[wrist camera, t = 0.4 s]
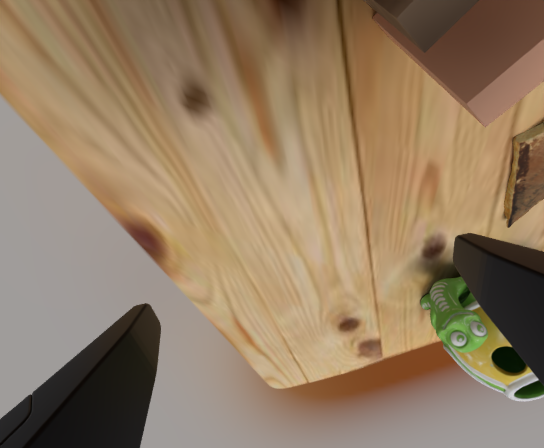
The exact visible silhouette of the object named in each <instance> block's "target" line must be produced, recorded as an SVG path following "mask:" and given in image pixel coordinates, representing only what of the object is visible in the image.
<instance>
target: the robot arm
mask: <svg viewBox="0 0 544 448" xmlns="http://www.w3.org/2000/svg"><path fill="white" fill-rule="evenodd" d="M453 261H454V265H455V267H456V269H457V270H458V272H459V274H460V275H461V277H462V278H463V280H464V282H465V283H466V285H467V287H468V288H469V290H470V291H471V293H472V295H473V296H474V298H475V299H476V301H477V302H478V304H479V305H480V307H481V308H482V309H483V311H484V312H485V313H486V314H487V316H488V317H489V318H490V319H491V321H492V322H493V323H494V324H495V326H496V327H497V328H498V329H499V331H500V332H501V333H502V334H503V336H504V337H505V338H506V339H507V341H508V342H509V343H510V344H511V346H512V347H513V348H514V349H515V351H516V352H517V353H518V354H519V356H520V357H521V358H522V359H523V361H524V362H525V363H526V364H527V366H528V367H529V368H530V369H531V371H532V372H533V373H534V374H535V376H536V377H537V378H538V379H539V381H540V382H541V383H542V384H543V386H544V252H542V251H539V250H535V249H531V248H527V247H523V246H519V245H515V244H512V243H508V242H504V241H500V240H496V239H492V238H488V237H485V236H481V235H477V234H473V233H467V234H462V235H458V236H457V237H456V238H455V242H454V252H453ZM160 334H161V326H160V322H159V320H158V318H157V316H156V315H155V313H154V311H153V309H152V307H151V306H150V305H149V304H146V303H145V304H141V305H136V306H134V307H133V308H132V309H130V310H129V311H128V312H127V313H126V314H125V315H124V316H122V317H121V318H120V319H119V320H118V321H116V322H115V323H114V324H113V325H112V326H110V327H109V328H108V329H107V330H106V331H104V332H103V333H102V334H101V335H100V336H99V337H98V338H96V339H95V340H94V341H93V342H92V343H90V344H89V345H88V346H87V347H86V348H85V349H83V350H82V351H81V352H80V353H79V354H77V355H76V356H75V357H74V358H73V359H72V360H70V361H69V362H68V363H67V364H66V365H64V367H62V368H61V369H60V370H59V371H58V372H56V373H55V374H54V375H53V376H52V377H50V378H49V379H48V380H47V381H46V382H44V383H43V384H42V385H41V386H40V387H39V388H37V389H36V390H35V391H34V392H33V393H32V395H28V396H27V397H26V398H25V399H24V400H23V401H22V402H20V403H19V404H18V405H17V406H16V407H14V408H13V409H12V410H11V411H9V412H8V413H7V414H6V415H5V416H3V417H2V418H1V419H0V448H140V444H141V440H142V435H143V431H144V426H145V422H146V418H147V413H148V409H149V404H150V400H151V396H152V391H153V387H154V382H155V377H156V372H157V364H158V354H159V343H160Z"/></svg>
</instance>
